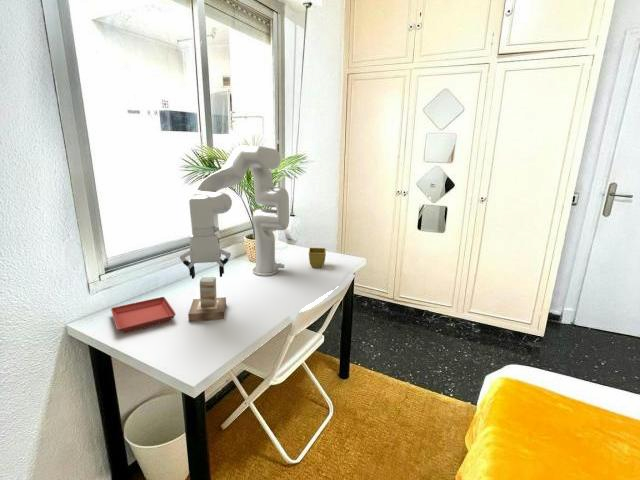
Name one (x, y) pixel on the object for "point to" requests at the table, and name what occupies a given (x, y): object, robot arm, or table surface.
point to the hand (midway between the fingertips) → (207, 276)
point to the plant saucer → (142, 314)
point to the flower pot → (317, 257)
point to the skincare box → (208, 291)
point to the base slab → (207, 311)
